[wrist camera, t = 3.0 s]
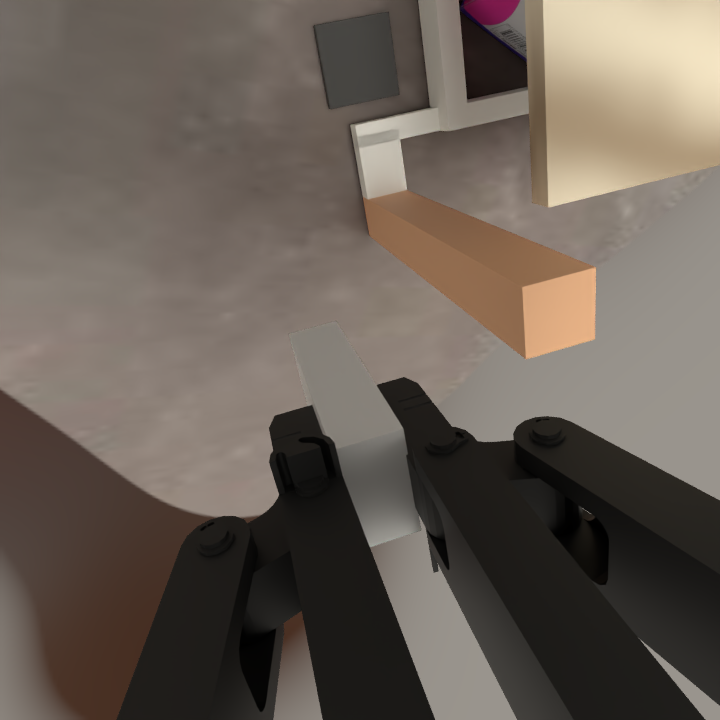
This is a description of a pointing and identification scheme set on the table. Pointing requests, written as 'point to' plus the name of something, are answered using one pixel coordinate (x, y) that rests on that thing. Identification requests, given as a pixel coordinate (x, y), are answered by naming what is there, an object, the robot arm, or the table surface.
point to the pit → (357, 59)
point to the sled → (463, 232)
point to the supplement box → (500, 21)
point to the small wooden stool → (620, 93)
